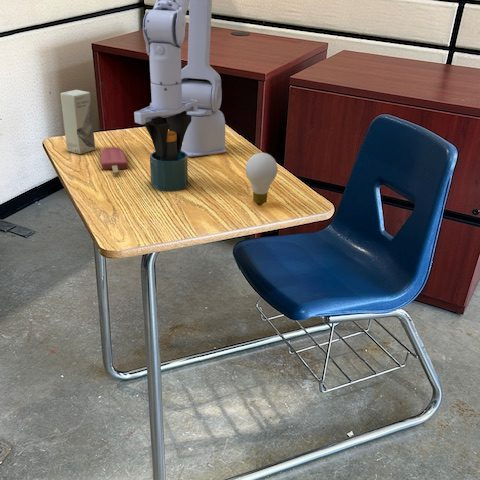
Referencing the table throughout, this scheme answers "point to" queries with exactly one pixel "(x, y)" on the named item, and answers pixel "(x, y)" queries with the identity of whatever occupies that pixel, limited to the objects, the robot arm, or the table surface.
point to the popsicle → (113, 159)
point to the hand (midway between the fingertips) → (168, 153)
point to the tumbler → (169, 172)
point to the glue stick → (171, 147)
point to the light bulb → (261, 175)
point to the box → (78, 121)
